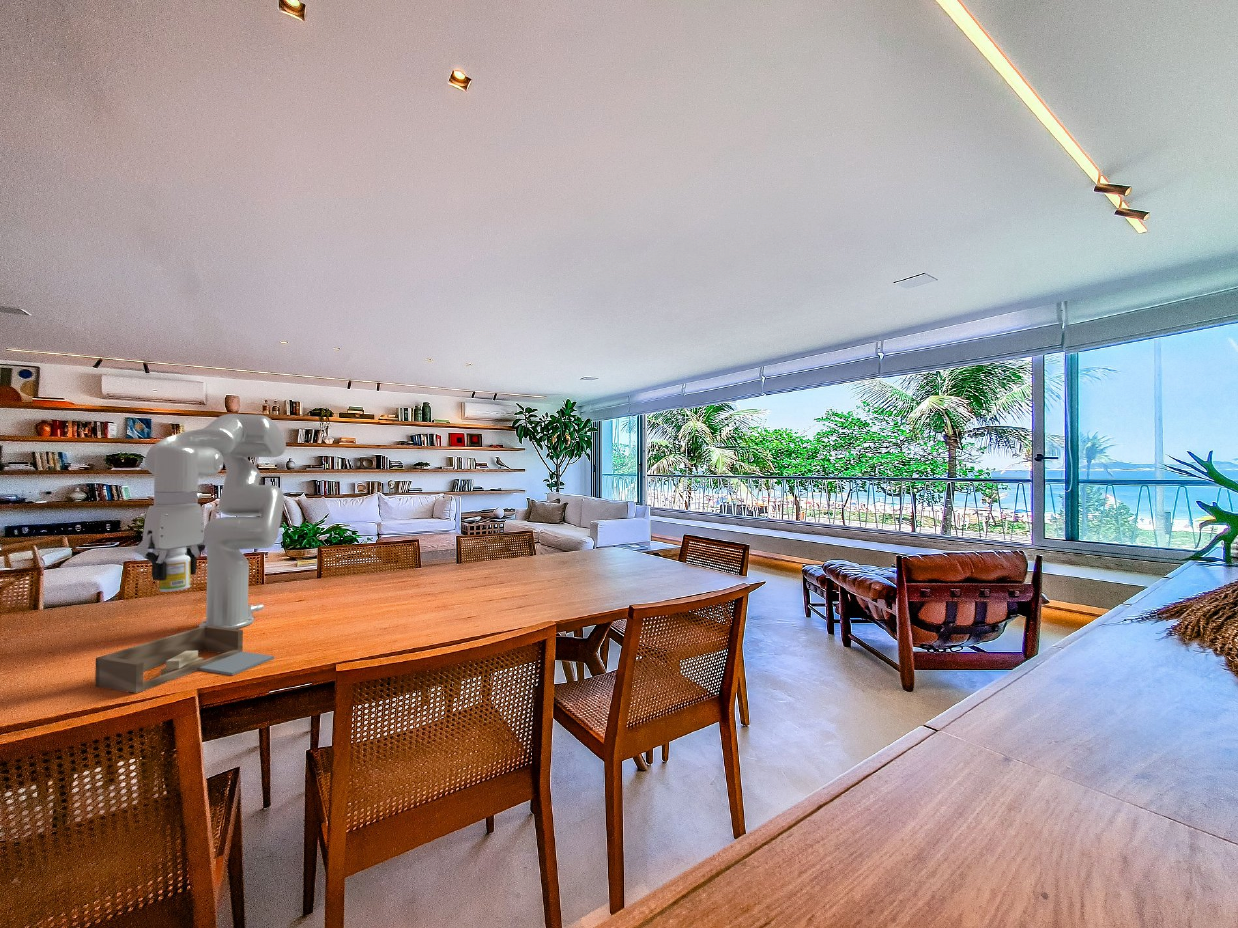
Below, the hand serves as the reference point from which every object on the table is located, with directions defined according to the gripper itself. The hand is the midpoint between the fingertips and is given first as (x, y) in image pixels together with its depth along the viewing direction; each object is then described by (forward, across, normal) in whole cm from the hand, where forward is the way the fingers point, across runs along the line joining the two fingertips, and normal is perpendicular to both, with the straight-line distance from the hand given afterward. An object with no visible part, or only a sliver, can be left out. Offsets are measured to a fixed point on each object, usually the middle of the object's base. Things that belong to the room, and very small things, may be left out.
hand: (174, 576), depth 113 cm
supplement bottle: (+3, 0, 0) cm, 3 cm away
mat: (+21, -6, +12) cm, 25 cm away
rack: (+21, 0, +1) cm, 21 cm away
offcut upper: (+20, +1, +4) cm, 20 cm away
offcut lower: (+22, 0, +4) cm, 22 cm away
